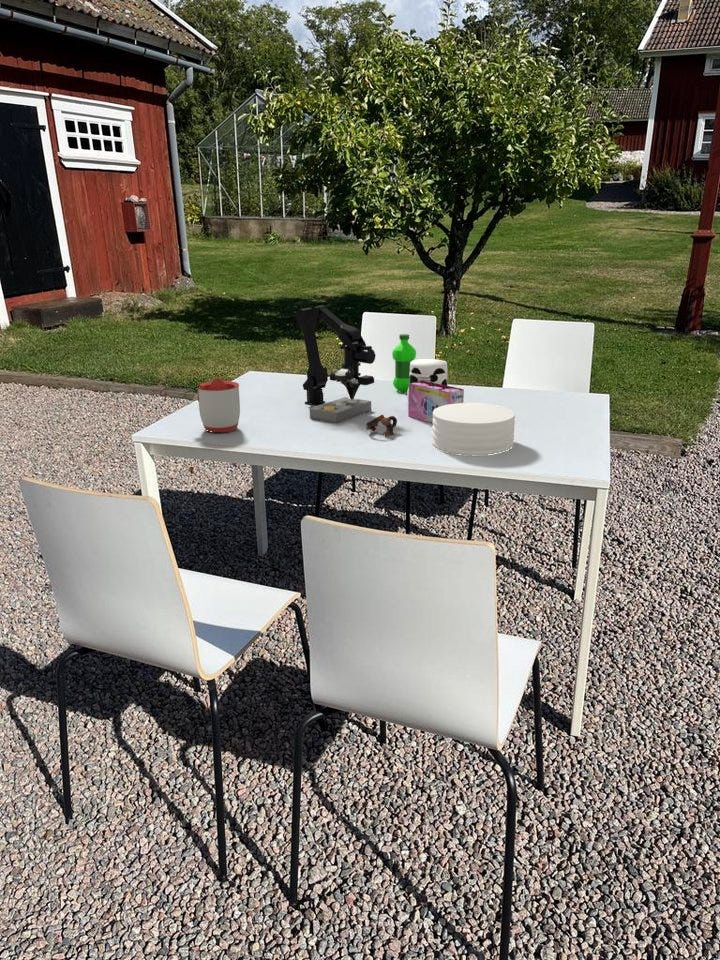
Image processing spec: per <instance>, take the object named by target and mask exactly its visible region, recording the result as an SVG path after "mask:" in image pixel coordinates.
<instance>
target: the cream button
mask: <svg viewBox="0 0 720 960" xmlns="http://www.w3.org/2000/svg"><path fill="white" fill-rule="evenodd" d="M357 399H358V398H356V397H354V399H350V397H349V398H348V399H347V402H350V403H355V402H357Z"/></svg>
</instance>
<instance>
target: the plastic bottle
mask: <svg viewBox="0 0 720 960" xmlns="http://www.w3.org/2000/svg"><path fill="white" fill-rule="evenodd" d="M398 336H399V340H400V343H399V344H398V345H396V346H395V348H394V349H393V350H392V353H391V355H392V359H393V360H394V361H395V362H394V363H395V364H394V367H395V368H394V370H395V371H394V373H395V376H394V378H393V381H392V385H393V387H394V388H395V389H396V390H397V391H398V392H399V391H400V393H407V391H408V387H409V382H410V376H409V373H410V362H411V361H414V360H416V358H417V351H416V348H415V347H413V345H411V344H410V343H409V339H410V334H406V333H401V334H399V335H398Z"/></svg>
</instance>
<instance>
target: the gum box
mask: <svg viewBox="0 0 720 960" xmlns="http://www.w3.org/2000/svg"><path fill="white" fill-rule="evenodd" d="M464 394H465V389H464V388H460V387H456V386H450V385H448V386H446V385H442V384H437V383H433V382H428V381H424V380H420V381H418V383H412V384H411V383H409V401H408V400H407V401H408V403H407V404H408V408H407V409H408V411H407V413H408V417H411V418H413V419H418V420H421V421H424V422H428V423H431V424H433V410H434V409H436V408H438V407H441V406H444V405H449V404H457V403H464V399H465V398H464V397H465V395H464Z"/></svg>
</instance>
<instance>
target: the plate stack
mask: <svg viewBox="0 0 720 960" xmlns="http://www.w3.org/2000/svg"><path fill="white" fill-rule="evenodd" d="M515 419H516V412H515V411H514V410H512V408H511V409H510V408H509V407H506V406H503V405H502V406H501V405H497V404H491V403H485V402H484V403H482V402H463V403H457V404H449V405H444V406H441V407H438V408H436V409H434V410H433V423H432V428H431V429H432V434H431V435H432V436H431V437H432V439H431V445H432V447H433V446H434V447H435V448H434V449H436V448H437V449H436V450H438V449H439V450H438V451H440V450H442V451H444V452H443V453H445V452H448V453H447V454H449V453H453V454H452V455H454V454H461V455H488V454H494V453H499V452H503V451H506V450H508V449H510V448H511V447H512V446H513V447H514V440H515V435H514V434H515V425H516V424H515V422H516V420H515ZM442 451H441V452H442ZM461 455H460V456H461Z"/></svg>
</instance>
